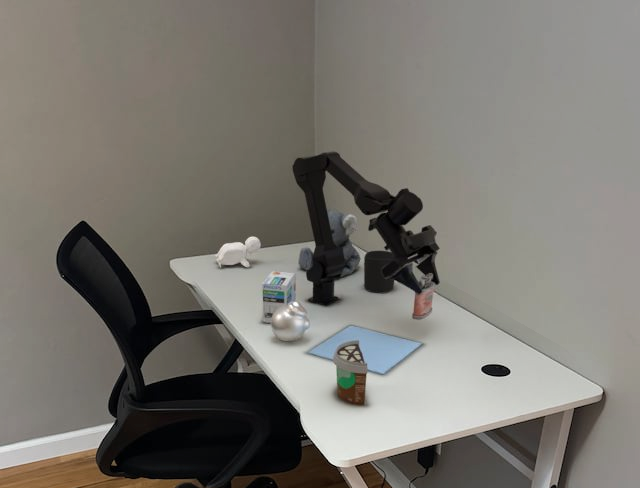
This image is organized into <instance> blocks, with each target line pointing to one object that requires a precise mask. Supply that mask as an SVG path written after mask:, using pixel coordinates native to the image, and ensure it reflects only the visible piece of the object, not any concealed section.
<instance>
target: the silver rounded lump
mask: <svg viewBox="0 0 640 488" xmlns="http://www.w3.org/2000/svg"><path fill="white" fill-rule="evenodd" d="M307 315H308V311H307V309H306V308H305V307H304V306H303V305H302V304H301V303H300V302H299V301H297V300H296V301H291V302H289V303H288V305H285V306H282V307H280V308H278V309H277V310H276V311H275V312H274V313H273V315H272V318H271V323H270V329H271V331H272V333H273V335H274V336H275V337H276V338H277V339H279V340H281V341H284V342H294V341H297V340H299V339H300V338H301V337H302V336H303V335H304V334H305V332H306V331H307V330H309V328H310V326H311V323H310V320H309V318H307Z"/></svg>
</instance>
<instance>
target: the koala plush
mask: <svg viewBox="0 0 640 488" xmlns="http://www.w3.org/2000/svg"><path fill="white" fill-rule="evenodd" d="M326 208H327V213H328V218H329V223H330V227H331V232H332V237H333V242H334V243H335V244H336V246H337V247H338V248H339V247H342V249H343V253H344V258H345V260H346V262H345V268H344V270H343V272H342V275H341V278H342V277H345V276H348V275H349V276H350V275H351V274H352V273H353V272H354V271H355V270H356V269H357V268H358V266H359V265H360V263H361V256H360V253H359V251H358V250H357V249H356V248H355V247H354V245H353V243H352V241H351V240H350V235H352V234H353V233H354V232H356V231H357V229H358V218H357V217H356V215H353V213H344V212H341V211H339V210H330V208H329V207H328V206H326ZM313 253H314V251H312V249H311V248H310V247H308V246H305V247H302V248H301V249H300V252H299V256H298V266H299V267H300V268H301V269H302V270H304V271H308V270H309V269H310V268H311V267H312V266H313V259H312V257H313Z"/></svg>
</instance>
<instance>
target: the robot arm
mask: <svg viewBox="0 0 640 488" xmlns="http://www.w3.org/2000/svg"><path fill="white" fill-rule="evenodd" d="M326 172H327V173H328V174H329V175H330V176H331V177H332V178H333V179H334V180H336V181H337V182H338V183H339V184H340V185H341V186H342V187H343V188H344V189H346V190H347V192H349V193H350V194H351V196H352V197H353V201H354V204H355V205H356V206H357V207H358V209H359V210H360V212H361V213H362V214H363V215H364V216H372V215H377V214H379V215H377V216H376V217H372V218H370V219H369V220H368V221H369V224H368V231H369V232H372V231H373V230H376V231H377V233H378V234H379V236H380V237H381V239H382V240H383V242H384V243H385V246H384V247H383V248H384V251H389V252H392V254H393V255H394V258H392V259H391V260H390V261H389V262H388V263H386V264H385V265H384V266H383V267H381V273H382V275H383V276H384V278H385V279H387V278H389V277H391V276H392V275H394V276H392V277H391V278H390V279H391V280H394V282H397V283H399V284H400V285H403V286H404V287H406V288H408V289H410V290H412V291H413V292H414V293H415V292H416V293H418V294H421V293H422V292H423V291H422V289H421V286H420V285H419V280H418V279H417V277H416V276H415V274H414V272H413V265H414V264H413V263H415V264H417V265H416V266H415V268H416V269H417V270H418V271H420V273H422V274H423V276H426V275H427V274H429V273H432V274H433V278H432V279H431V280H430V281H432V282H435V286H438V285H439V284H440V283H441V281H440V277H439V274H438V271H437V267H436V257H437V255H438V251H439V250H440V249H441V248H440V246H439V245H438V244H437V240H436V236H437V234H438V233H437V231H436V230H435V228H434V227H433V226H432V225H431V224H429V225H428V224H427V225H426V226H423V227H421V231H419V232H417V233H414V232H413V230H410V229H409V230H406V229H405V227H404V226H406V225H408V224H409V223H410V222H411V221H412V220H413V219H414V218H416V217H417V216H418V214H420V213H421V212H422V211H423V208H424V204H423V201H422V199H421V198H420V197H419V196H418V195H417V194H415V193H414V192H412V191H410V190H409V188H408V187H405V188H401V189H400V190H399V191H398V192H397V194H396V195H393V194H392V193H390V191H389V190H388V189H386V188H385V187H383V186H381V185H380V184H378V183H374V182H371V181H369V180H367V179H366V178H364V176H362V175H361V174H360V173H359V172H358V171H357V170H356V169H354V168H353V166H351V165H350V164H349V163H348V162H347V161H346V160H345V159H343V158H342V156H341V155H340V153H339V152H337V151H335V150H332V151H326V152H321V153H320V154H317V155H309V156H301V157H296V158H295V160H294V162H293V164H292V173H293V176H294V180H295V183H296V184H297V186H298V187H299V188H300V189H301V191H302V192H303V193H304V197H305V202H306V207H307V211H308V217H309V221H310V226H311V230H312V235H313V240H314V246H315V247H314V251H313V257H312V259H313V266H312V267H311V268H310V269H309V270H306V271H305V274H306V276H305V277H306V280H307V281H308V282H311V283H312V296H311V297H309V298H308V299H307V301H308V302H311V303H315V304H319V305H324V306H329V305H331V304H332V303H334V302H336V301H338V300H339V296H336V295H335V280H338V279H341V278H342V277H341V275H342V272H343V270H344V268H345V262H346V260H345V258H344V253H343V249H342V247H339V248H338V247H337V246H336V244H335V243H334V242H333V237H332V232H331V227H330V223H329V218H328V213H327V208H326V207H327V204H326V198H325V194H324V185H325V182H326V178H327V173H326Z"/></svg>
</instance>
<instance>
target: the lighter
mask: <svg viewBox="0 0 640 488" xmlns="http://www.w3.org/2000/svg"><path fill="white" fill-rule="evenodd" d="M432 278H433V274H432V273H429V274H427V275H426V276H425V275H422V276H421V277H420V279H419V280H418V283H419V285H420V286H421V289H422V291H423V292H422V293H421V294H418V293H416V292H415V291H414V302H413V311H412V314H411V318H412V320H416V321H421V320H425V319H426V318H429V316H430V315H431V314H432V313H433V301H434V300H433V299H434V290H435V289H434V288H435V286H436V285H435V282H432V281H431V279H432Z"/></svg>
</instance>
